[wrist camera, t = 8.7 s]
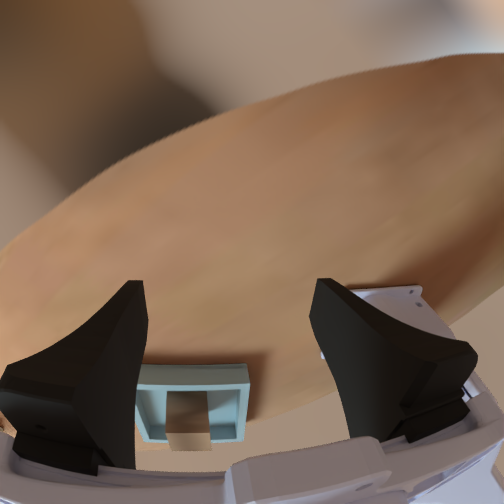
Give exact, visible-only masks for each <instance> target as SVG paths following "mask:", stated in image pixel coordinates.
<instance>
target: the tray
mask: <svg viewBox="0 0 504 504" xmlns="http://www.w3.org/2000/svg"><path fill="white" fill-rule="evenodd" d="M249 390H250V379H249V374H248V369H247V364H246V363H241V364H215V365H155V364H142V365H141V369H140V374H139V379H138V384H137V391H136V404H135V422H136V424H137V427H138V429H139V431H140V434H141V436H142V438H143V440H144V442H156V443H169V442H168V439H167V437H166V434H165V423H166V397H167V391H207V401H208V412H209V425H210V437H211V443H222V442H239V441H243V440H244V430H245V423H246V415H247V407H248V398H249Z"/></svg>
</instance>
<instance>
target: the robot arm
mask: <svg viewBox="0 0 504 504" xmlns="http://www.w3.org/2000/svg"><path fill="white" fill-rule="evenodd" d="M422 290H423V288H422V287H421V286H420V285H414V286H401V287H387V288H372V289H356V290H348V289H347V288H346V287H344V286H343V285H341V284H340V283H338V282H336V281H335V280H333V279H331V278H318V279H317V283H316V287H315V292H314V297H313V301H312V306H311V310H310V315H309V318H310V322H311V325H312V329H313V332H314V335H315V338H316V340H317V342H318V344H319V347H320V349H321V357H322V359H325V360H326V362H327V364H328V366H329V368H330V370H331V373H332V375H333V377H334V380H335V382H336V385H337V389H338V392H339V395H340V398H341V401H342V405H343V409H344V413H345V417H346V421H347V425H348V430H349V434H350V439H347V440H343V441H338V442H334V443H330V444H325V445H320V446H314V447H310V448H304V449H298V450H292V451H285V452H278V453H269V454H264V455H260V456H254V457H249V458H246V459H244V460H242V461H239V462H237V463H234V464H233V465H232V466H231V467H230V468H229V469H228V471H224V472H160V471H144V470H136V466H135V404H136V391H137V384H138V379H139V374H140V369H141V365H142V360H143V355H144V351H145V346H146V341H147V331H148V314H147V308H146V301H145V294H144V286H143V280H128V281H127V282H126V283H125V284H124V285H123V286H122V287H121V288H120V289H119V290H118V291H117V293H116V294H115V295H114V296H113V297H112V298H111V299H110V300H109V301H108V302H107V303H106V304H105V305H104V306H103V307H102V308H101V309H100V310H99V311H97V312H96V313H95V314H94V315H93V316H92V317H91V318H90V319H89V320H88V321H86V322H85V323H84V324H83V325H81V326H80V327H79V328H78V329H76V330H75V331H74V332H72V333H71V334H69V335H68V336H66V337H65V338H63V339H61V340H60V341H58V342H57V343H55V344H54V345H52V346H50V347H48V348H46V349H44V350H43V351H41V352H38V353H36V354H34V355H32V356H30V357H28V358H25V359H22V360H20V361H17V362H15V363H12V364H9V365H7V367H6V369H5V371H4V373H3V375H2V377H1V379H0V411H1V412H2V413H3V415H4V416H5V417H6V418H7V420H8V421H9V422H10V423H11V424H12V426H13V427H14V428H15V429H16V430H17V434H16V437H15V438H13V437H12V436H10V435H9V434H6V433H4V432H1V431H0V504H504V478H503V476H502V475H501V473H500V472H499V470H498V469H497V467H496V466H495V464H494V463H495V461H496V458H497V456H498V454H499V451H500V449H501V446H502V444H503V441H504V413H503V412H502V410H501V409H500V407H499V406H498V402H497V401H496V399H495V398H494V396H493V395H492V393H491V392H490V391H489V390H488V388H487V387H486V385H485V384H484V383H483V382H482V380H481V379H480V377H479V376H478V375H477V374H476V372H475V371H474V368H475V367H476V364H477V361H478V355H477V353H476V352H475V350H474V349H473V348H472V347H471V346H470V345H469V343H468V342H465V341H460V340H456V338H455V336H454V334H453V332H452V331H451V329H450V328H449V327H448V326H447V325H446V323H445V322H444V321H443V320H442V319H441V318H440V317H439V316H438V315H437V313H436V312H435V311H434V310H433V309H432V308H431V307H430V306H429V305H428V304H427V303H426V302H425V300H424V299H423V298H422V297H421V296H420V295H421V293H422Z"/></svg>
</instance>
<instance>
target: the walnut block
mask: <svg viewBox="0 0 504 504" xmlns="http://www.w3.org/2000/svg"><path fill="white" fill-rule="evenodd" d="M165 434H166V437H167V439H168V442H169V445H170V448H171V450H172V451H211V450H212V448H211V437H210V425H209V412H208V401H207V391H167V397H166V423H165Z"/></svg>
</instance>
